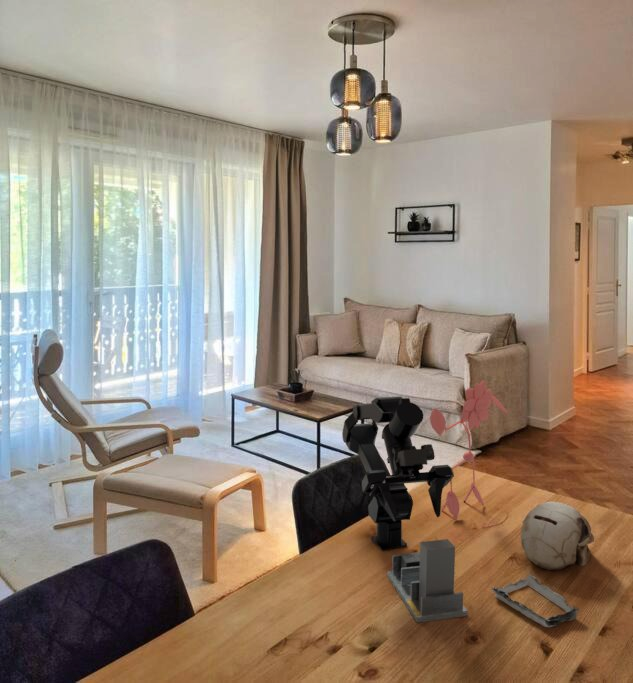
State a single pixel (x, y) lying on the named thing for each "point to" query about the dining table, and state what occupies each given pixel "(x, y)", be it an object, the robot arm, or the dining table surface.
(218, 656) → the dining table surface
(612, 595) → the dining table surface
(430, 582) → the block
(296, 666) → the dining table surface
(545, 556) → the coin bank
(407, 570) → the rack
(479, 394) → the figurine
